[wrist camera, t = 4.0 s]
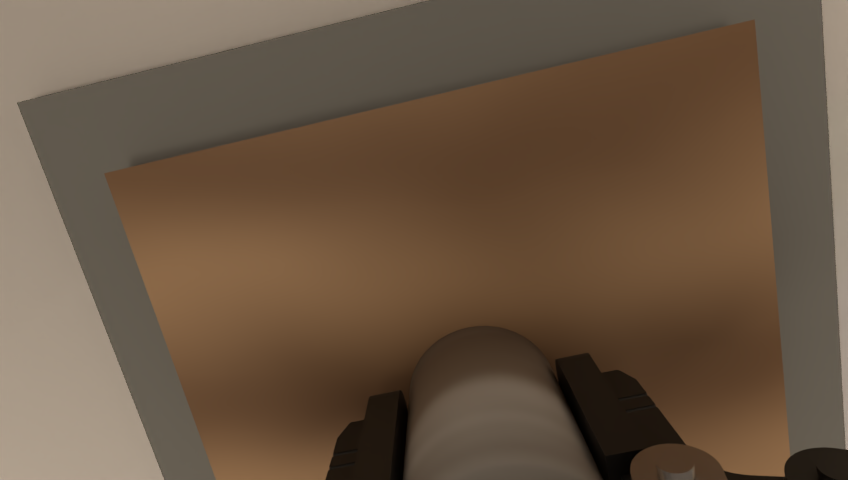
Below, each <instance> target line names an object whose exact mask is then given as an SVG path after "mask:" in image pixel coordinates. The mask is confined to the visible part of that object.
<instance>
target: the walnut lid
mask: <svg viewBox="0 0 848 480" xmlns="http://www.w3.org/2000/svg"><path fill="white" fill-rule="evenodd" d="M104 175H105V178H106V180H107V183H108V186H109V188H110V191H111V194H112V197H113V199H114V202H115V205H116V208H117V210H118V213H119V216H120V219H121V221H122V224H123V227H124V229H125V232H126V235H127V238H128V240H129V243H130V246H131V249H132V251H133V254H134V257H135V260H136V262H137V265H138V268H139V271H140V273H141V276H142V279H143V281H144V284H145V287H146V290H147V292H148V295H149V298H150V301H151V303H152V306H153V309H154V312H155V314H156V317H157V320H158V322H159V325H160V328H161V331H162V333H163V336H164V339H165V342H166V344H167V347H168V350H169V353H170V355H171V358H172V361H173V363H174V366H175V369H176V372H177V374H178V377H179V380H180V383H181V385H182V388H183V391H184V394H185V396H186V399H187V402H188V404H189V407H190V410H191V413H192V415H193V418H194V421H195V424H196V426H197V429H198V432H199V435H200V437H201V440H202V443H203V446H204V448H205V451H206V454H207V456H208V459H209V462H210V465H211V467H212V470H213V473H214V476H215V478H216V480H326V476H327V473H328V470H330V469H329V466H330V462H331V459H332V457H333V452H334V448H335V445H336V441H337V438H338V437H339V435H340V434H341V433H342V432H343V431H344V429H345V428H346V427H347V426H348V424H349V423H350V422H355V421H360V420H364V418H365V413H366V409H367V404H368V399H369V397H370V396H373V395H378V394H383V393H388V392H393V391H398V390H401V391H402V393H403V395H404V398H405V401H406V405H407V409H408V417H407V430H406V443H405V456H404V469H403V480H603V478H602V475H601V473H600V471H599V469H598V467H597V465H596V463H595V460H594V458H593V456H592V454H591V452H590V450H589V447H588V445H587V443H586V441H585V439H584V437H583V435H582V432H581V430H580V428H579V426H578V424H577V422H576V419H575V417H574V415H573V413H572V411H571V409H570V407H569V404H568V402H567V400H566V398H565V396H564V394H563V391H562V389H561V387H560V385H559V382H558V377H557V371H556V365H555V359H558V358H563V357H568V356H573V355H578V354H583V353H589V354H590V356H591V357H592V359H593V361H594V362H595V364H596V365H597V367H598V368H599V370H600V371H601V373H603V372H608V371H613V370H620V371H622V372H624V373H625V374H627V375H629V376H631V377H633V378H635V379H637V381H638V382H639V383H640V385H641V386H642V387H643V389H644V390H645V391H646V393H647V396H649V397H650V398H651V399H652V401H653V402H654V403H655V405H656V407H658V408H659V410H660V411H661V412H662V414H663V415H664V416H665V418H666V419H667V420H668V422H669V423H670V424H671V426H672V427H673V428H674V430H675V431H676V432H677V433H678V435H679V436H680V437H681V439H682V440H683V441H684V443H685V444H686V445H688V446H692V447H695V448H698V449H700V450H703V451H705V452H707V453H708V454H710V455H711V456H713V457H714V458H715V459H716V460H717V461H718V462H719V463H720V465H721V466H722V468H723V470H724V471H727V472H731V473H736V474H743V475H757V476H780V477H785V474H784V466H785V463H786V461H787V460H788V458H789V457H790V447H789V435H788V423H787V410H786V398H785V386H784V373H783V361H782V349H781V336H780V324H779V312H778V299H777V287H776V275H775V262H774V250H773V238H772V225H771V213H770V201H769V188H768V176H767V164H766V151H765V139H764V127H763V114H762V102H761V90H760V77H759V65H758V53H757V40H756V28H755V19H754V20H750V21H746V22H741V23H737V24H733V25H729V26H725V27H720V28H716V29H712V30H708V31H703V32H699V33H695V34H691V35H687V36H682V37H678V38H674V39H670V40H665V41H661V42H657V43H653V44H648V45H644V46H640V47H636V48H632V49H627V50H623V51H619V52H615V53H610V54H606V55H602V56H598V57H594V58H589V59H585V60H581V61H577V62H572V63H568V64H564V65H560V66H556V67H551V68H547V69H543V70H539V71H534V72H530V73H526V74H522V75H518V76H513V77H509V78H505V79H501V80H496V81H492V82H488V83H484V84H479V85H475V86H471V87H467V88H463V89H458V90H454V91H450V92H446V93H441V94H437V95H433V96H429V97H425V98H420V99H416V100H412V101H408V102H403V103H399V104H395V105H391V106H387V107H382V108H378V109H374V110H370V111H365V112H361V113H357V114H353V115H348V116H344V117H340V118H336V119H332V120H327V121H323V122H319V123H315V124H310V125H306V126H302V127H298V128H294V129H289V130H285V131H281V132H277V133H272V134H268V135H264V136H260V137H256V138H251V139H247V140H243V141H239V142H234V143H230V144H226V145H222V146H218V147H213V148H209V149H205V150H201V151H196V152H192V153H188V154H184V155H179V156H175V157H171V158H167V159H163V160H158V161H154V162H150V163H146V164H141V165H137V166H133V167H129V168H125V169H120V170H116V171H112V172H108V173H104Z"/></svg>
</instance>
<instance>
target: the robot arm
mask: <svg viewBox="0 0 848 480" xmlns="http://www.w3.org/2000/svg"><path fill="white" fill-rule="evenodd" d="M555 365H556V371H557V377H558V382H559V385H560V387H561V389H562V391H563V394H564V396H565V398H566V400H567V402H568V404H569V407H570V409H571V411H572V413H573V415H574V417H575V419H576V422H577V424H578V426H579V428H580V430H581V432H582V435H583V437H584V439H585V441H586V443H587V445H588V447H589V450H590V452H591V454H592V456H593V458H594V460H595V463H596V465H597V467H598V469H599V471H600V473H601V475H602V478H603V480H848V450H845V449H839V448H828V447H820V448H810V449H805V450H802V451H799V452H797V453H795V454H793V455H792V456H790V457H789V458H788V460H787V461H786V463H785V466H784V474H785V477H780V476H757V475H743V474H736V473H731V472H727V471H724V470H723V468H722V466H721V465H720V463H719V462H718V461H717V460H716V459H715V458H714V457H713V456H711V455H710V454H708V453H707V452H705V451H703V450H700V449H698V448H695V447H692V446H688V445H686V444H685V443H684V441H683V440H682V439H681V437H680V436H679V435H678V433H677V432H676V431H675V430H674V428H673V427H672V426H671V424H670V423H669V422H668V420H667V419H666V418H665V416H664V415H663V414H662V412H661V411H660V410H659V408H658V407H656V405H655V403H654V402H653V401H652V399H651V398H650V397H649V396H647V393H646V391H645V390H644V389H643V387H642V386H641V385H640V383H639V382H638V381H637V379H635V378H633V377H631V376H629V375H627V374H625V373H624V372H622V371H620V370H613V371H608V372H603V373H601V371H600V370H599V368H598V367H597V365H596V364H595V362H594V361H593V359H592V357H591V356H590V354H589V353H583V354H578V355H573V356H568V357H563V358H558V359H555ZM407 417H408V409H407V405H406V401H405V398H404V395H403V393H402V391H401V390H398V391H393V392H388V393H383V394H378V395H373V396H370V397H369V399H368V404H367V409H366V413H365V418H364V420H360V421H355V422H350V423H349V424H348V426H347V427H346V428H345V429H344V431H343V432H342V433H341V434H340V435H339V437H338V438H337V441H336V445H335V448H334V452H333V457H332V459H331V462H330V466H329V469H330V470H328V473H327V476H326V480H403V469H404V456H405V443H406V430H407Z"/></svg>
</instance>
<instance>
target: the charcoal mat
mask: <svg viewBox="0 0 848 480" xmlns="http://www.w3.org/2000/svg"><path fill="white" fill-rule="evenodd" d="M754 19H755V28H756V40H757V53H758V65H759V77H760V90H761V102H762V114H763V127H764V139H765V151H766V164H767V176H768V188H769V201H770V213H771V225H772V238H773V250H774V262H775V275H776V287H777V299H778V312H779V324H780V336H781V349H782V361H783V373H784V386H785V398H786V410H787V423H788V435H789V447H790V456H792V455H793V454H795V453H797V452H799V451H802V450H805V449H810V448H820V447H828V448H839V449H845V431H844V412H843V393H842V375H841V356H840V338H839V319H838V301H837V282H836V263H835V245H834V226H833V208H832V189H831V171H830V152H829V134H828V115H827V96H826V78H825V59H824V41H823V22H822V4H821V0H429V1H425V2H421V3H417V4H413V5H409V6H405V7H401V8H397V9H393V10H388V11H384V12H380V13H376V14H372V15H368V16H364V17H360V18H356V19H352V20H348V21H344V22H340V23H336V24H332V25H328V26H324V27H320V28H316V29H312V30H308V31H304V32H300V33H296V34H292V35H288V36H284V37H280V38H276V39H272V40H268V41H264V42H260V43H256V44H252V45H248V46H244V47H240V48H236V49H232V50H227V51H223V52H219V53H215V54H211V55H207V56H203V57H199V58H195V59H191V60H187V61H183V62H179V63H175V64H171V65H167V66H163V67H159V68H155V69H151V70H147V71H143V72H139V73H135V74H131V75H127V76H123V77H119V78H115V79H111V80H107V81H103V82H99V83H95V84H91V85H87V86H83V87H79V88H75V89H70V90H66V91H62V92H58V93H54V94H50V95H46V96H42V97H38V98H34V99H30V100H26V101H22V102H18V103H17V104H18V106H19V109H20V112H21V114H22V117H23V119H24V122H25V124H26V127H27V129H28V132H29V135H30V137H31V140H32V142H33V145H34V147H35V150H36V152H37V155H38V158H39V160H40V163H41V165H42V168H43V170H44V173H45V175H46V178H47V181H48V183H49V186H50V188H51V191H52V193H53V196H54V198H55V201H56V204H57V206H58V209H59V211H60V214H61V216H62V219H63V221H64V224H65V227H66V229H67V232H68V234H69V237H70V239H71V242H72V245H73V247H74V250H75V252H76V255H77V257H78V260H79V262H80V265H81V268H82V270H83V273H84V275H85V278H86V280H87V283H88V285H89V288H90V291H91V293H92V296H93V298H94V301H95V303H96V306H97V308H98V311H99V314H100V316H101V319H102V321H103V324H104V326H105V329H106V331H107V334H108V337H109V339H110V342H111V344H112V347H113V349H114V352H115V354H116V357H117V360H118V362H119V365H120V367H121V370H122V372H123V375H124V377H125V380H126V383H127V385H128V388H129V390H130V393H131V395H132V398H133V400H134V403H135V406H136V408H137V411H138V413H139V416H140V418H141V421H142V423H143V426H144V429H145V431H146V434H147V436H148V439H149V441H150V444H151V446H152V449H153V452H154V454H155V457H156V459H157V462H158V464H159V467H160V469H161V472H162V475H163V477H164V480H216V478H215V476H214V473H213V470H212V467H211V465H210V462H209V459H208V456H207V454H206V451H205V448H204V446H203V443H202V440H201V437H200V435H199V432H198V429H197V426H196V424H195V421H194V418H193V415H192V413H191V410H190V407H189V404H188V402H187V399H186V396H185V394H184V391H183V388H182V385H181V383H180V380H179V377H178V374H177V372H176V369H175V366H174V363H173V361H172V358H171V355H170V353H169V350H168V347H167V344H166V342H165V339H164V336H163V333H162V331H161V328H160V325H159V322H158V320H157V317H156V314H155V312H154V309H153V306H152V303H151V301H150V298H149V295H148V292H147V290H146V287H145V284H144V281H143V279H142V276H141V273H140V271H139V268H138V265H137V262H136V260H135V257H134V254H133V251H132V249H131V246H130V243H129V240H128V238H127V235H126V232H125V229H124V227H123V224H122V221H121V219H120V216H119V213H118V210H117V208H116V205H115V202H114V199H113V197H112V194H111V191H110V188H109V186H108V183H107V180H106V178H105V175H104V173H108V172H112V171H116V170H120V169H125V168H129V167H133V166H137V165H141V164H146V163H150V162H154V161H158V160H163V159H167V158H171V157H175V156H179V155H184V154H188V153H192V152H196V151H201V150H205V149H209V148H213V147H218V146H222V145H226V144H230V143H234V142H239V141H243V140H247V139H251V138H256V137H260V136H264V135H268V134H272V133H277V132H281V131H285V130H289V129H294V128H298V127H302V126H306V125H310V124H315V123H319V122H323V121H327V120H332V119H336V118H340V117H344V116H348V115H353V114H357V113H361V112H365V111H370V110H374V109H378V108H382V107H387V106H391V105H395V104H399V103H403V102H408V101H412V100H416V99H420V98H425V97H429V96H433V95H437V94H441V93H446V92H450V91H454V90H458V89H463V88H467V87H471V86H475V85H479V84H484V83H488V82H492V81H496V80H501V79H505V78H509V77H513V76H518V75H522V74H526V73H530V72H534V71H539V70H543V69H547V68H551V67H556V66H560V65H564V64H568V63H572V62H577V61H581V60H585V59H589V58H594V57H598V56H602V55H606V54H610V53H615V52H619V51H623V50H627V49H632V48H636V47H640V46H644V45H648V44H653V43H657V42H661V41H665V40H670V39H674V38H678V37H682V36H687V35H691V34H695V33H699V32H703V31H708V30H712V29H716V28H720V27H725V26H729V25H733V24H737V23H741V22H746V21H750V20H754ZM845 450H846V449H845Z"/></svg>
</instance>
